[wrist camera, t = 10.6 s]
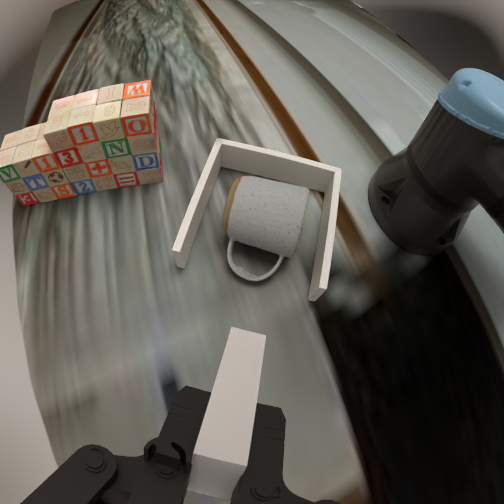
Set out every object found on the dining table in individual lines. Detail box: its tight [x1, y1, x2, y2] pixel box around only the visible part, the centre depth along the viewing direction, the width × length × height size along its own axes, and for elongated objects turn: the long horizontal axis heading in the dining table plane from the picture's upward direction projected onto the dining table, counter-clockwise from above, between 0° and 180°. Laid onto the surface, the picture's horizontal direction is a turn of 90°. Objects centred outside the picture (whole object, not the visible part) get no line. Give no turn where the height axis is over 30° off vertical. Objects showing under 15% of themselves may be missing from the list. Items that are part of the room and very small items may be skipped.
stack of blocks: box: [0, 80, 163, 206], centre depth 34 cm, size 21×6×12 cm, turn 101°
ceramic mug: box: [223, 176, 310, 281], centre depth 34 cm, size 11×8×8 cm
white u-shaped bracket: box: [172, 138, 341, 302], centre depth 36 cm, size 16×16×4 cm
